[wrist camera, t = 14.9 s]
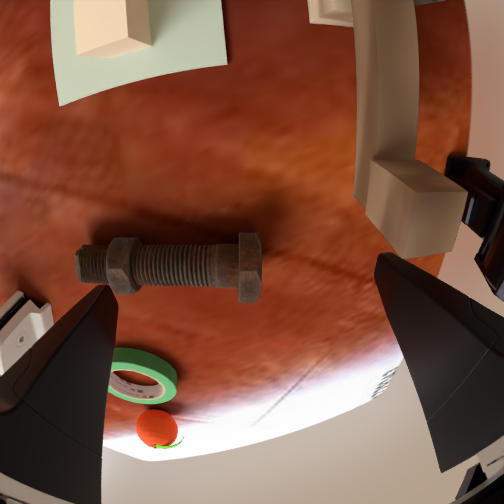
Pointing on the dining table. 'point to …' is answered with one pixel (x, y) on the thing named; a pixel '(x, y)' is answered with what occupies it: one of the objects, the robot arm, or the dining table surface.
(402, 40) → the key
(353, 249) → the dining table surface
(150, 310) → the dining table surface
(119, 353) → the tape roll
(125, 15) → the lid
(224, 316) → the dining table surface
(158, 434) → the clementine
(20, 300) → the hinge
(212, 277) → the bolt
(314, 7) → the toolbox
